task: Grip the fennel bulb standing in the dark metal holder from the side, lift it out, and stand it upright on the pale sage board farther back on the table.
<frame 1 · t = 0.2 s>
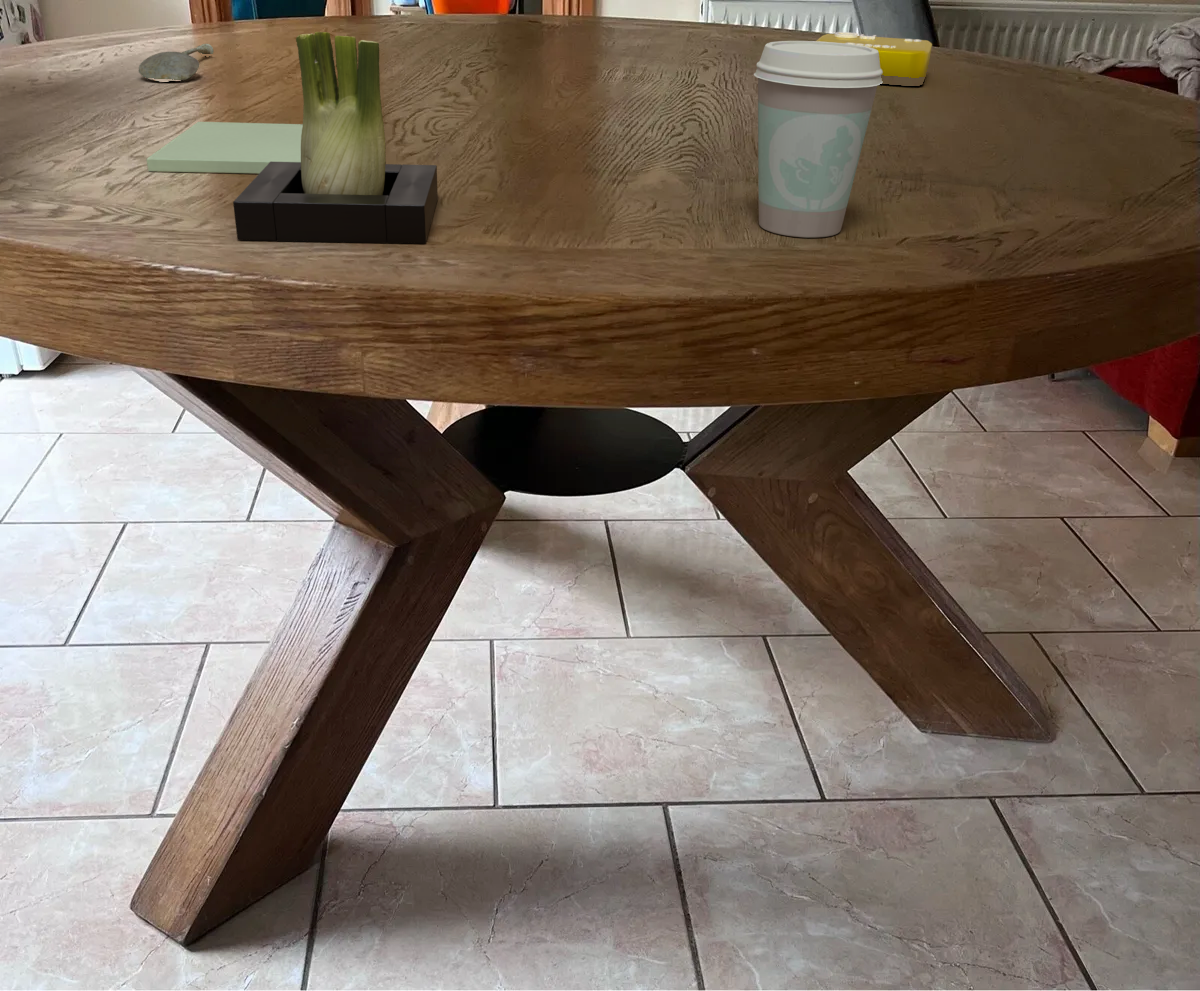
fennel bulb: (345, 221, 78), resting in holder
soupspoon: (187, 70, 135), on the table
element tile: (868, 78, 151), on the table
holder: (344, 218, 78), on the table
coffee cup: (799, 230, 80), on the table
board: (271, 153, 95), on the table
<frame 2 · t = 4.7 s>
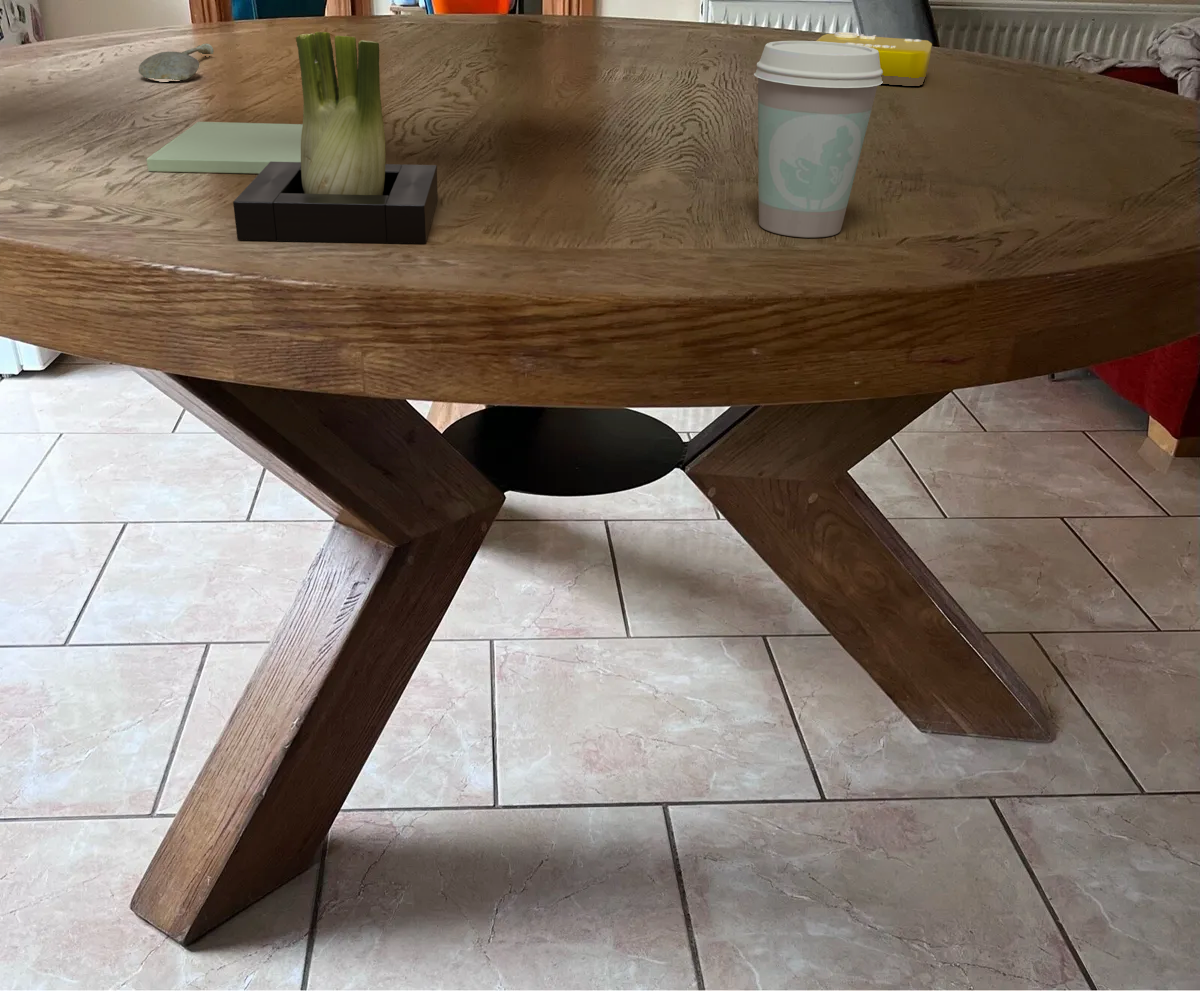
nothing on the table moved.
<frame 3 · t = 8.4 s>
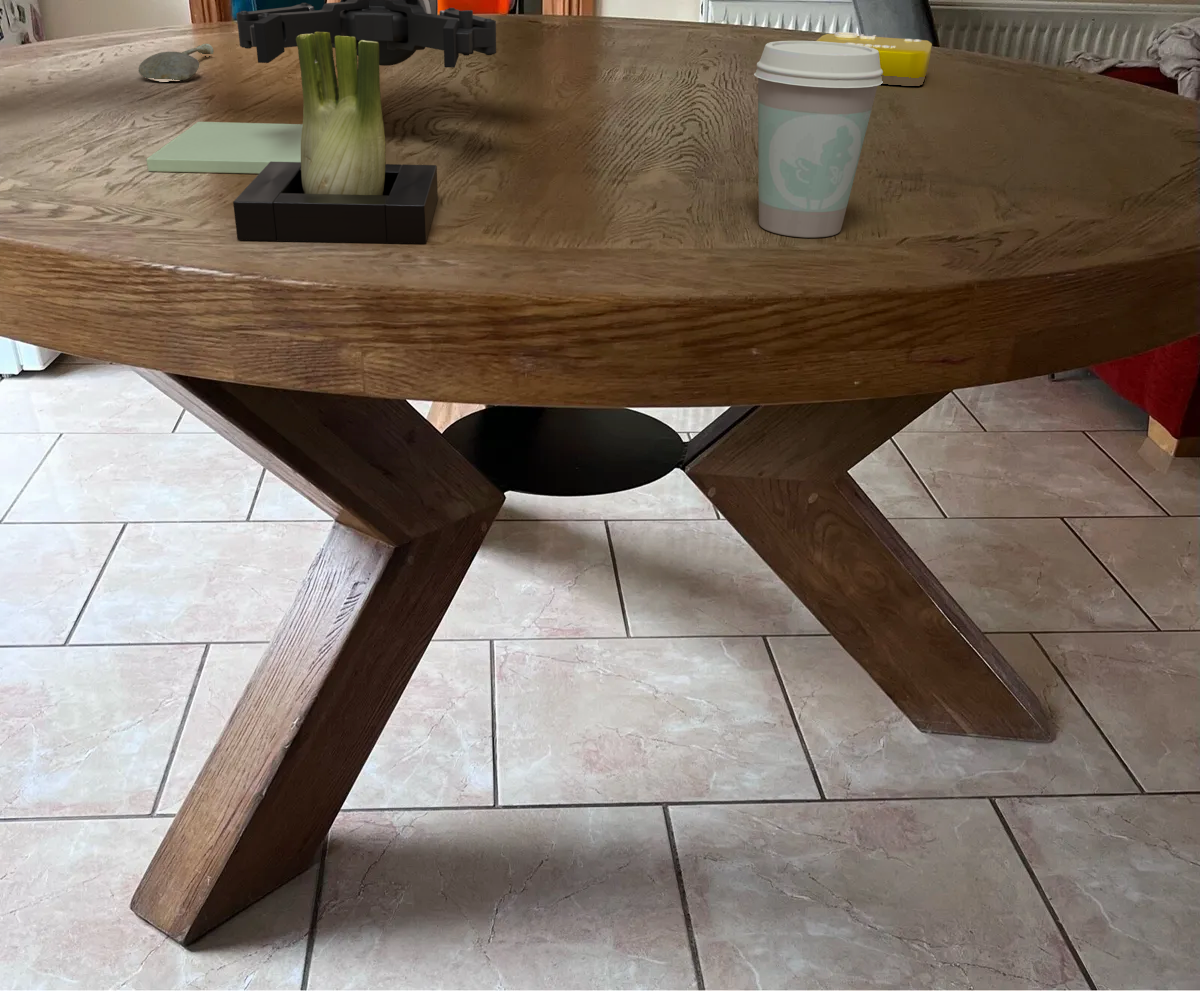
hand: (355, 45, 82), 10 cm above the table, tool horizontal, fingers open, 13 cm apart
nothing on the table moved.
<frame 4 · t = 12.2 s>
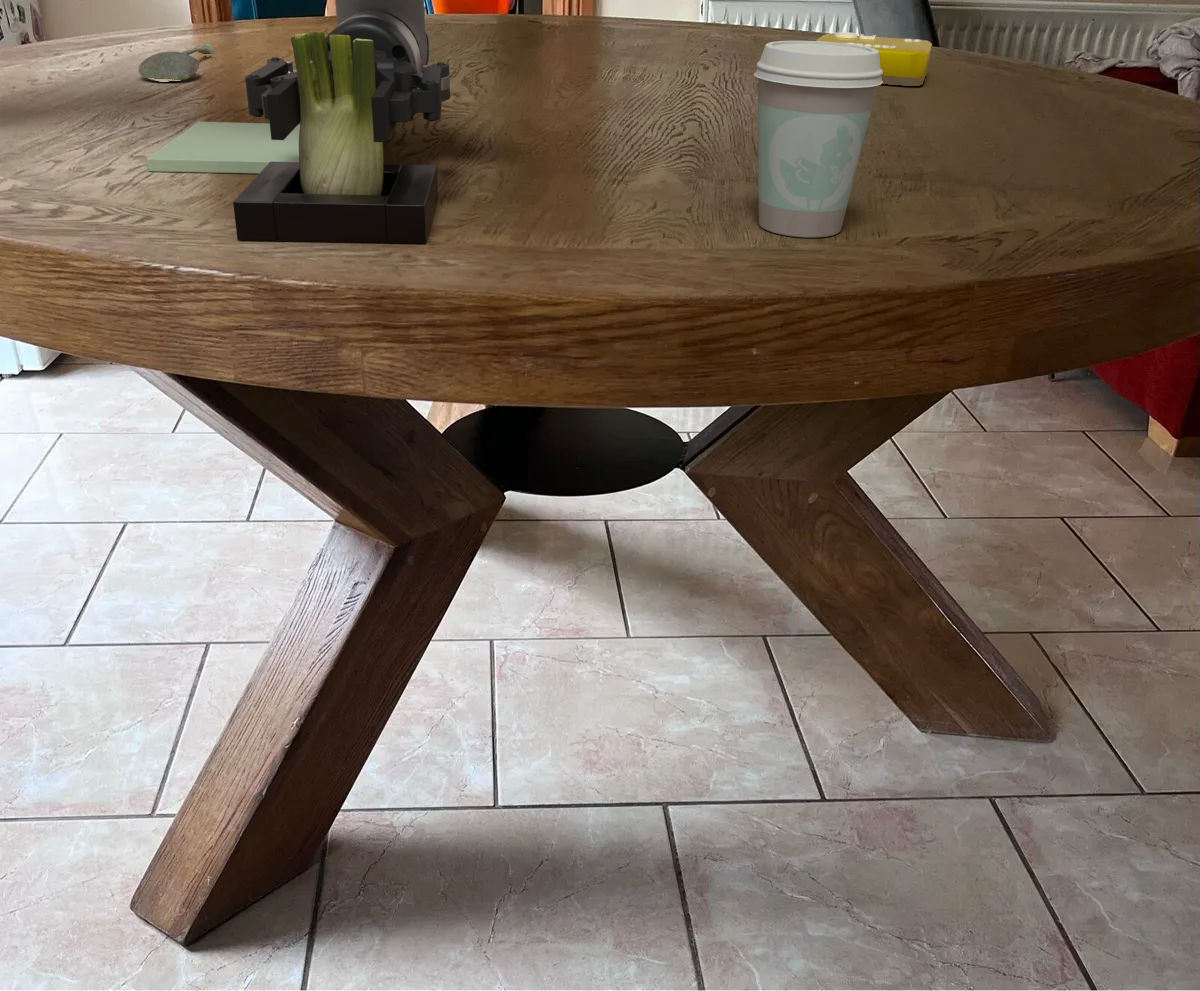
hand: (327, 118, 69), 8 cm above the table, tool horizontal, fingers closed on fennel bulb, 6 cm apart
fennel bulb: (345, 220, 78), resting in holder, touching gripper
everything else where it was.
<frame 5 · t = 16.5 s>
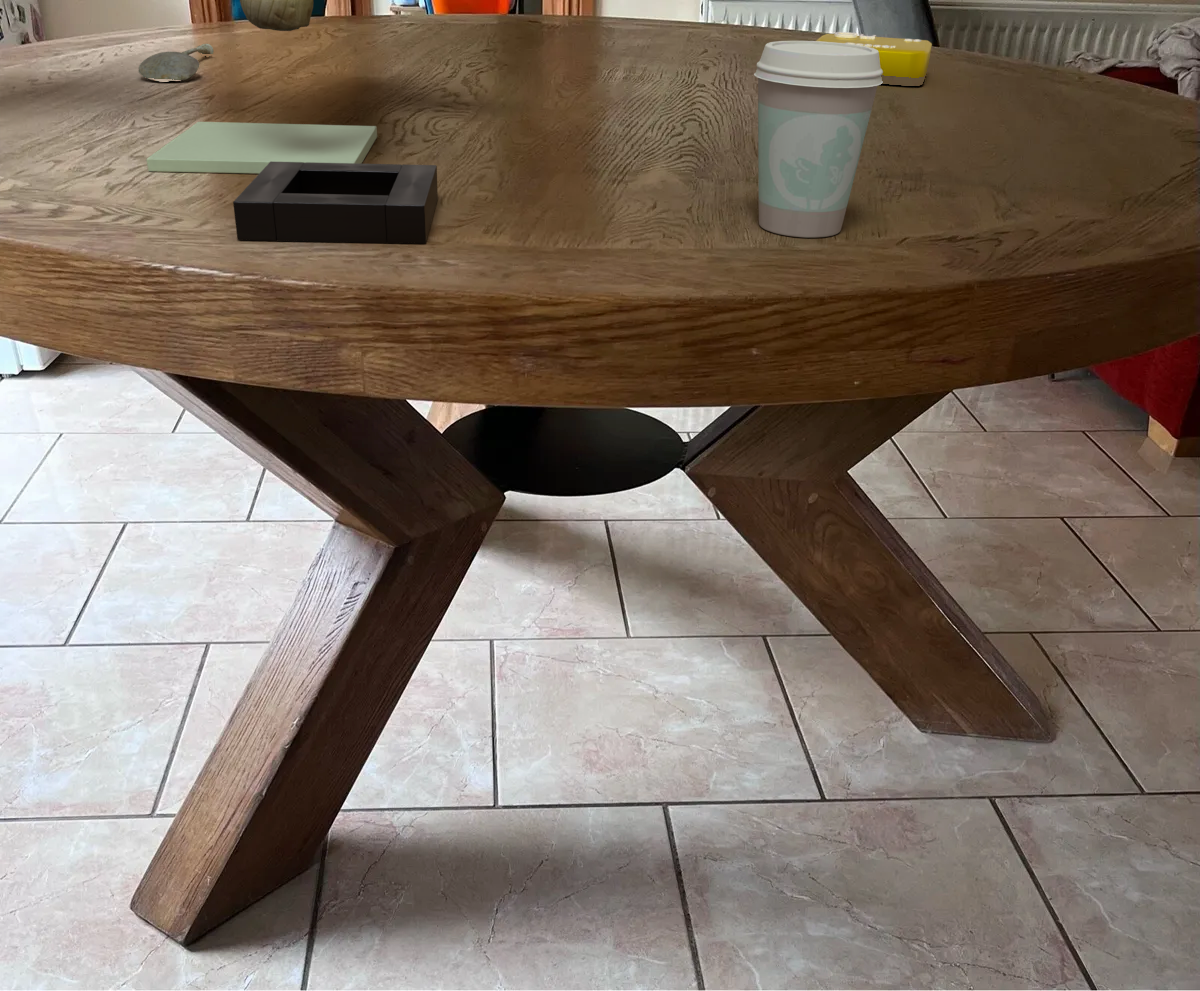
fennel bulb: (280, 34, 83), point 10 cm above the table, touching gripper
everything else where it was.
when the fingers open (8 cm above the table, at t = 20.6 s): fennel bulb stays where it is, resting on board.
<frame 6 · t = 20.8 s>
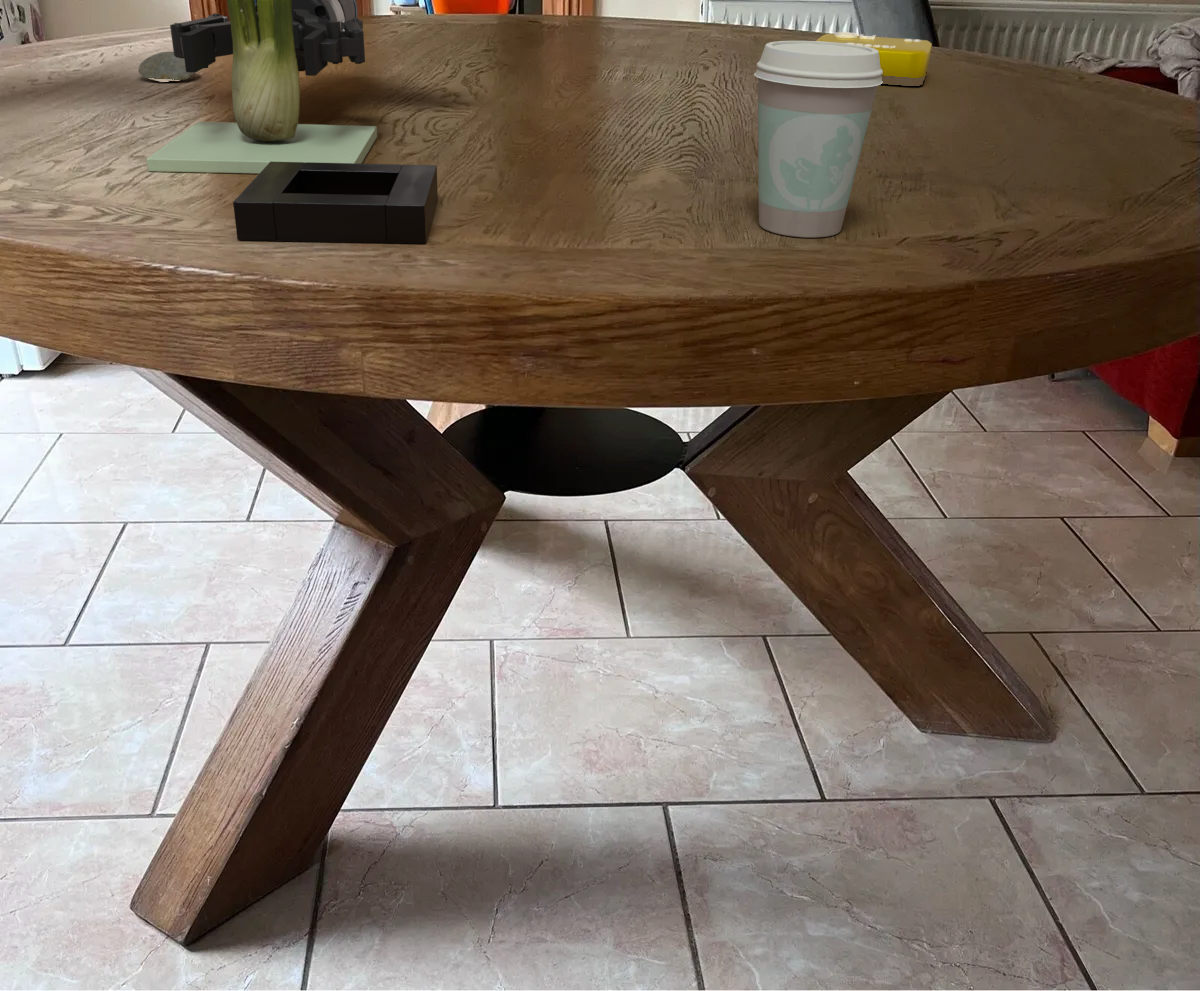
hand: (249, 55, 87), 8 cm above the table, tool horizontal, fingers open, 8 cm apart
fennel bulb: (269, 143, 95), point 1 cm above the table, touching board
everything else where it was.
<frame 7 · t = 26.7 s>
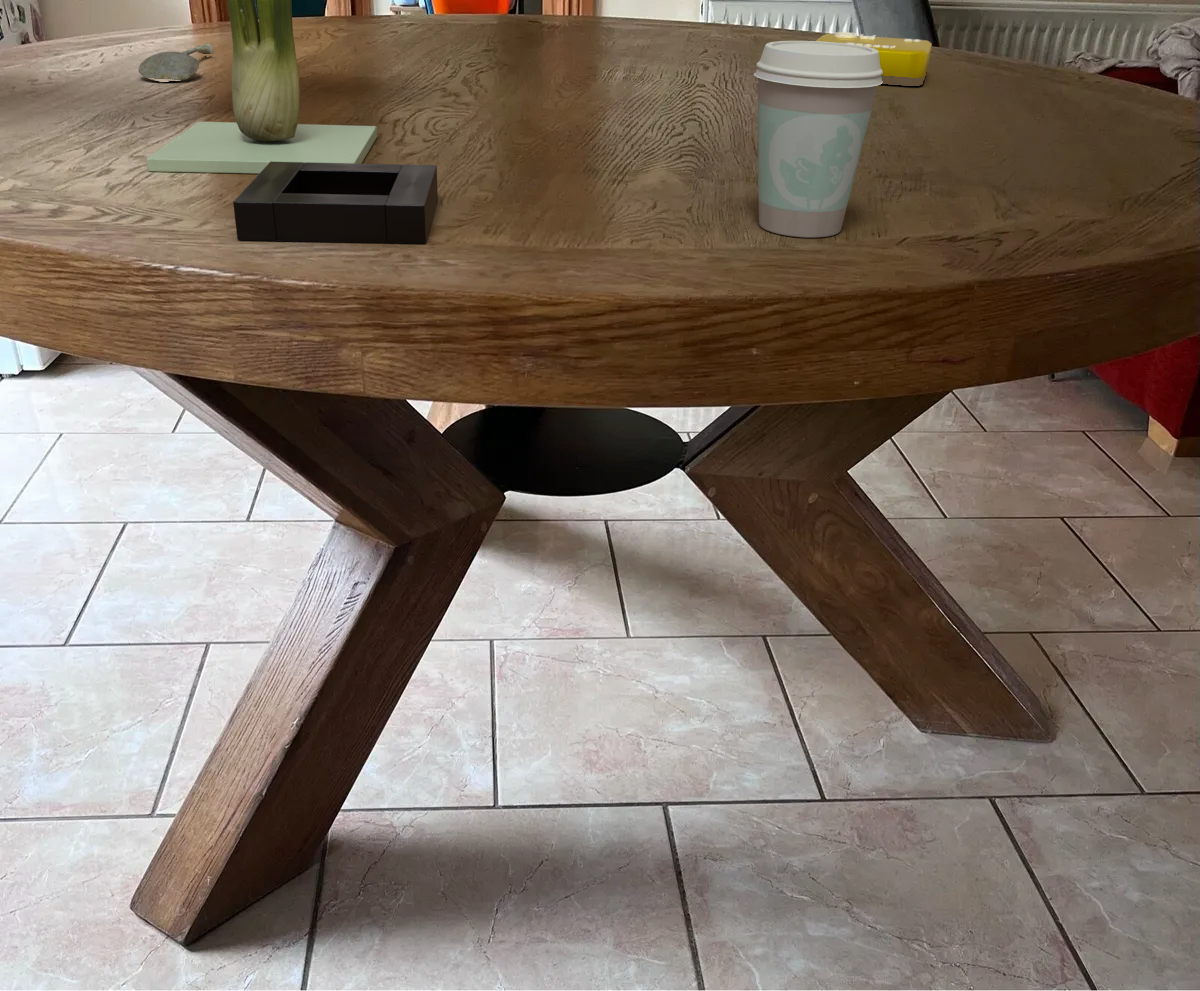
nothing on the table moved.
at the end: fennel bulb inside the target area on the board (0.1 cm from its centre), point 0.8 cm above the board's base; fennel bulb tilted 0°; the gripper is holding nothing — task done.
